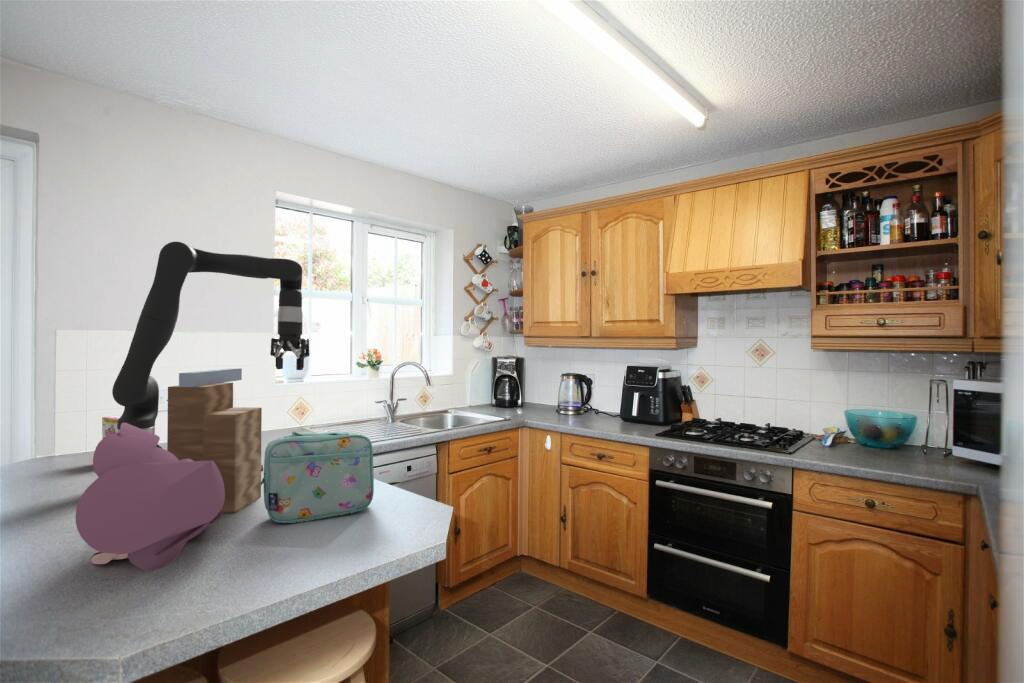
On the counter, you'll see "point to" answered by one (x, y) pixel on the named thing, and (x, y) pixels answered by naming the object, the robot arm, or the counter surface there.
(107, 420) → the candy bar box
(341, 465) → the lunch box
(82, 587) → the counter surface
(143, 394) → the robot arm
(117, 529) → the mauve lumpy blob
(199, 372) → the rail
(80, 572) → the counter surface
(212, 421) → the stand
